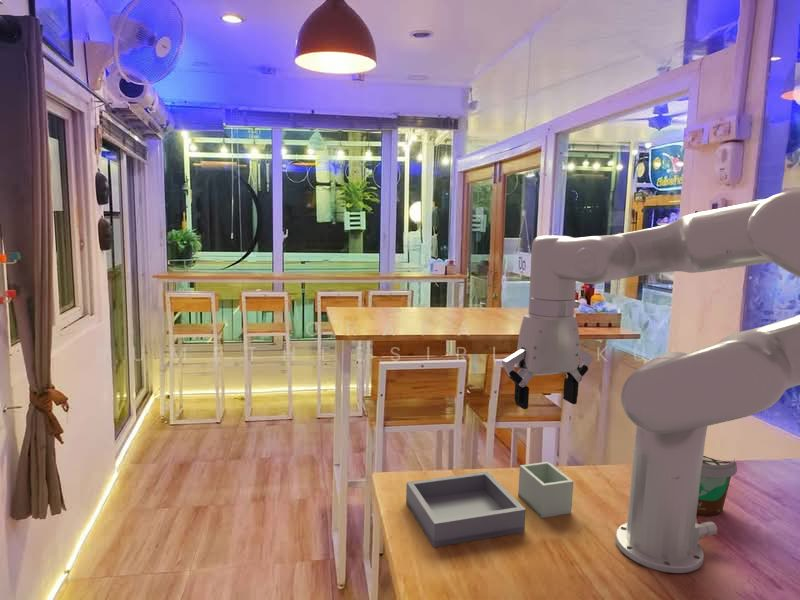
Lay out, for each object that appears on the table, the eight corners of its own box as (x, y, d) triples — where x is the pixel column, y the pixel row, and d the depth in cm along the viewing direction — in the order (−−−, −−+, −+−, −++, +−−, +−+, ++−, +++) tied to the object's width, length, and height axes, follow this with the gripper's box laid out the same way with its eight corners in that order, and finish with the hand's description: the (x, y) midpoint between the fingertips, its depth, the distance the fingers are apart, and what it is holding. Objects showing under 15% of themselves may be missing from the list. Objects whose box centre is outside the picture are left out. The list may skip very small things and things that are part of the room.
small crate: (546, 491, 106) (548, 461, 105) (571, 513, 98) (573, 481, 97) (518, 495, 104) (519, 465, 103) (541, 518, 96) (543, 485, 95)
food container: (654, 509, 100) (659, 456, 98) (656, 494, 105) (661, 444, 104) (734, 528, 94) (740, 472, 93) (732, 511, 100) (738, 458, 98)
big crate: (486, 491, 105) (487, 471, 105) (524, 531, 92) (525, 509, 91) (406, 502, 100) (406, 482, 100) (433, 547, 87) (434, 523, 87)
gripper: (581, 303, 101) (575, 393, 104) (495, 306, 96) (491, 401, 99) (608, 309, 94) (601, 406, 97) (517, 313, 89) (512, 416, 92)
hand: (546, 404), depth 98 cm, fingers open, 9 cm apart
